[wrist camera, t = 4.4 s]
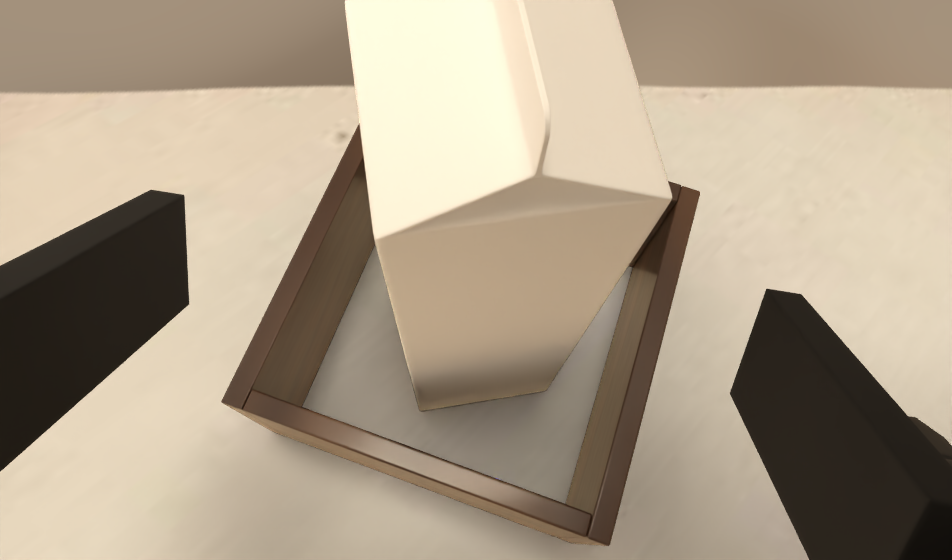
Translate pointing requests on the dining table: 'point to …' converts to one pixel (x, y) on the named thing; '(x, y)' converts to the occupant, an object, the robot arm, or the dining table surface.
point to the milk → (500, 181)
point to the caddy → (280, 410)
